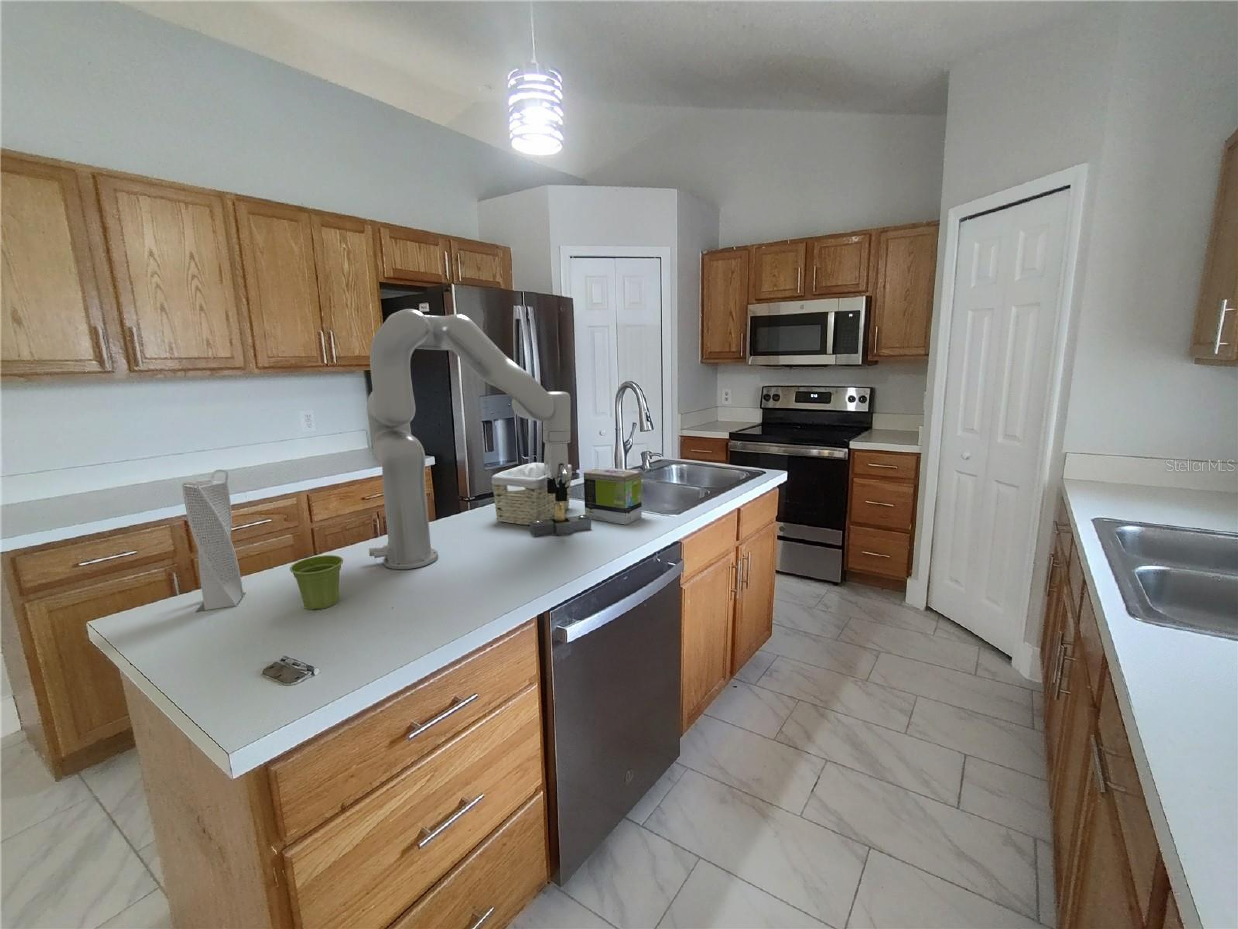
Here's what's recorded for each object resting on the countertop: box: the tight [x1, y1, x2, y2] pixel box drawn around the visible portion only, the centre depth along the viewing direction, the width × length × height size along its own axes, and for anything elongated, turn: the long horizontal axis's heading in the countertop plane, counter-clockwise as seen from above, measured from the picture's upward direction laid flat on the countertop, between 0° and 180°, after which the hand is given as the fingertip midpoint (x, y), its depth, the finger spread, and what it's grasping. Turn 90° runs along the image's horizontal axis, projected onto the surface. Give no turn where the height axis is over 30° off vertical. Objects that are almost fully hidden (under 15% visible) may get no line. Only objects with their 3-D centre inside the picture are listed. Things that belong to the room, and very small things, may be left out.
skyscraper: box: [181, 469, 246, 613], centre depth 111 cm, size 8×8×28 cm
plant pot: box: [289, 554, 344, 611], centre depth 112 cm, size 9×9×9 cm
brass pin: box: [554, 502, 567, 523], centre depth 156 cm, size 3×3×8 cm
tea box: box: [583, 466, 643, 525], centre depth 167 cm, size 15×10×15 cm, turn 58°
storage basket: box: [491, 462, 573, 526], centre depth 172 cm, size 24×16×15 cm
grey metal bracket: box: [529, 514, 592, 537], centre depth 157 cm, size 17×9×4 cm, turn 110°
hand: (556, 497), depth 155 cm, fingers open, 9 cm apart
